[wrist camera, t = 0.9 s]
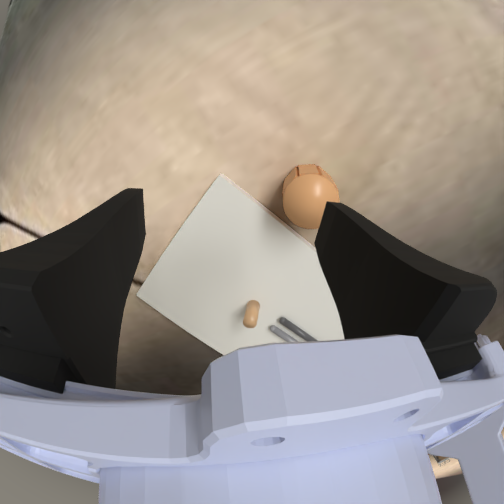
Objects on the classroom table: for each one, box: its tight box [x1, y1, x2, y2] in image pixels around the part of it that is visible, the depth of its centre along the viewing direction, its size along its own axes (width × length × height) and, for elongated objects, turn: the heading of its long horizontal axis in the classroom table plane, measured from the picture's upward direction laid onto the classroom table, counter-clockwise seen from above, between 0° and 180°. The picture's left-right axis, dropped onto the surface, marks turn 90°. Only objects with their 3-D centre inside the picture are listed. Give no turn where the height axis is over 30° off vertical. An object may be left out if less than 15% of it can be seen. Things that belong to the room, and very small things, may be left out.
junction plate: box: [136, 173, 344, 355], centre depth 31 cm, size 22×18×4 cm
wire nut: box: [282, 164, 339, 229], centre depth 24 cm, size 4×4×4 cm
